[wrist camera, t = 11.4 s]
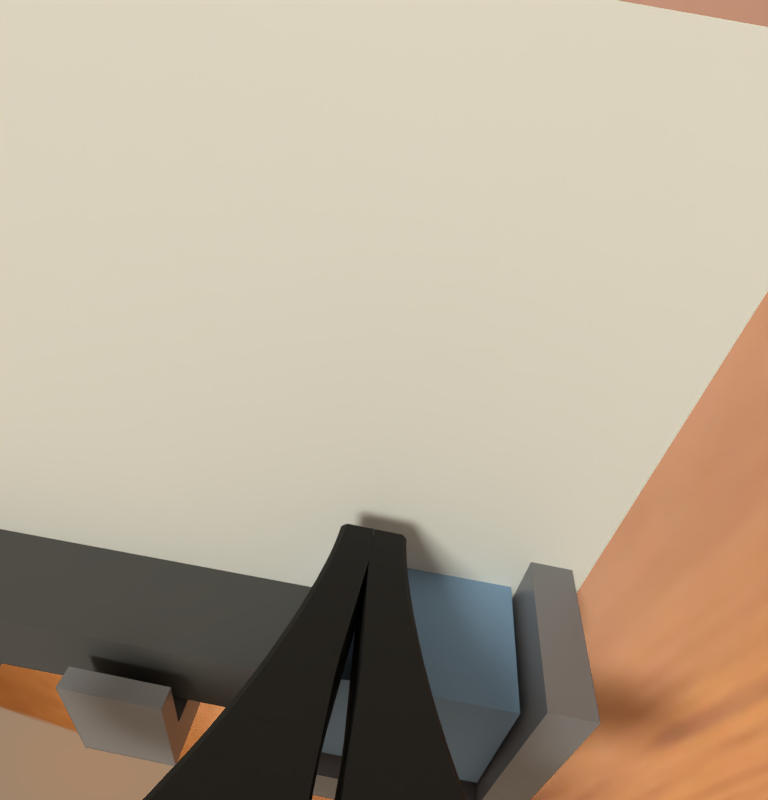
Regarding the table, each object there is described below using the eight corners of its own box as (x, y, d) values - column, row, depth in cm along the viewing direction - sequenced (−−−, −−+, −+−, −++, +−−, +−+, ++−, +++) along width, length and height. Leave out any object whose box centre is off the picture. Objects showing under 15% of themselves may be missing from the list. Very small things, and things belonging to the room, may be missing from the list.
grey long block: (-57, 564, 16) (-148, 659, 14) (-115, 471, 14) (-237, 568, 11) (475, 665, 16) (477, 782, 13) (511, 586, 13) (520, 713, 11)
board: (-45, 608, 19) (-148, 727, 16) (-553, -206, 7) (-1378, -381, 4) (485, 717, 19) (489, 861, 16) (885, 51, 7) (1256, 86, 4)
